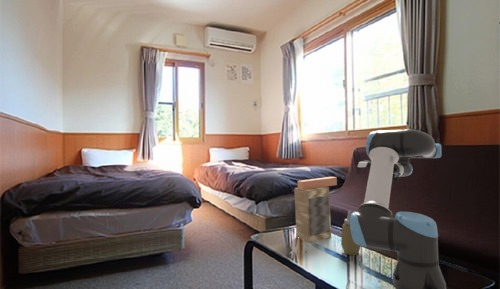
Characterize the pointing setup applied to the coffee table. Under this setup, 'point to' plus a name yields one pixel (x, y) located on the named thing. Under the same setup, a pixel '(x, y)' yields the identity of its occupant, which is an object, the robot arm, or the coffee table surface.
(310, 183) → the rail
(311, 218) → the stand
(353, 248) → the squeeze bottle
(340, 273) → the coffee table surface
